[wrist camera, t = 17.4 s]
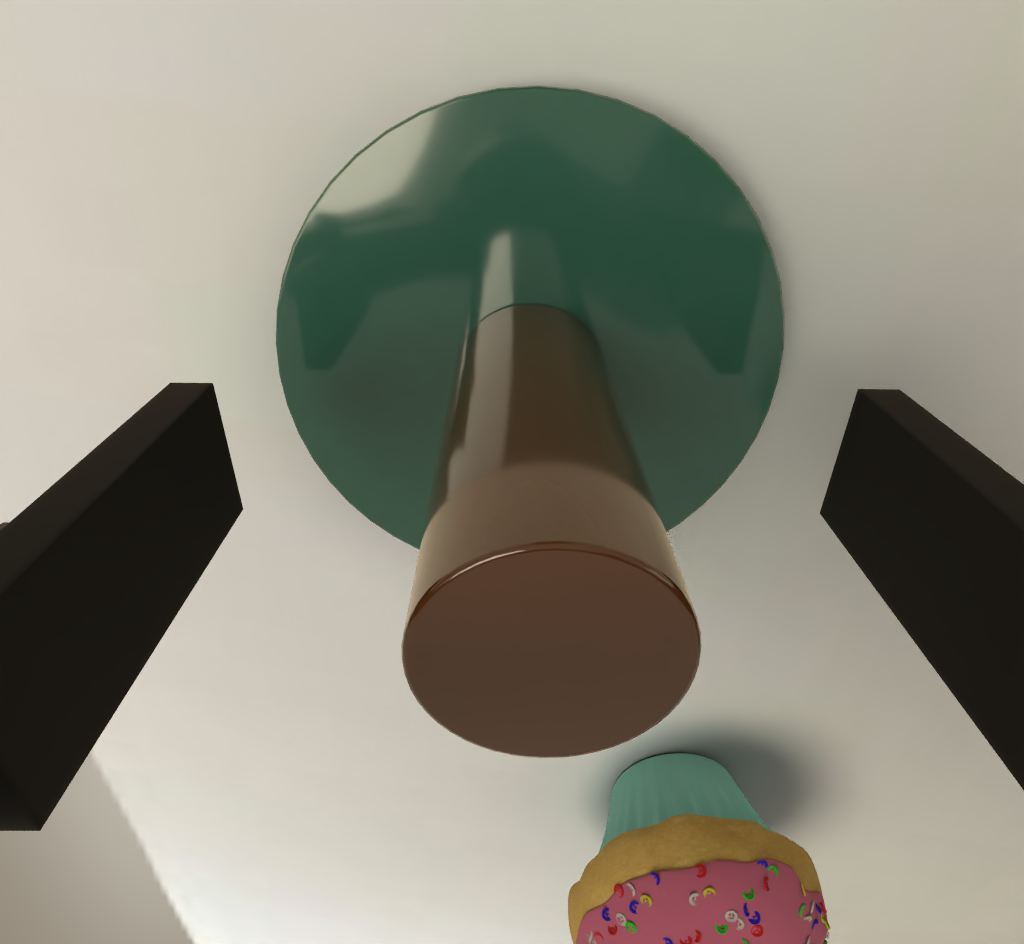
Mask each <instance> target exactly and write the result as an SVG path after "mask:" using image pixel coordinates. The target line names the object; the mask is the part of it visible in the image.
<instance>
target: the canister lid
mask: <svg viewBox="0 0 1024 944" xmlns="http://www.w3.org/2000/svg"><path fill="white" fill-rule="evenodd" d="M783 345H784V308H783V299H782V290H781V282H780V278H779V274H778V271H777V267H776V263H775V259H774V255H773V252H772V249H771V246H770V244H769V242H768V239H767V237H766V235H765V232H764V230H763V228H762V225H761V223H760V221H759V218H758V216H757V215H756V213H755V212H754V210H753V208H752V207H751V205H750V204H749V202H748V200H747V199H746V197H745V196H744V194H743V192H742V191H741V189H740V188H739V186H738V185H737V184H736V183H735V182H734V181H733V179H732V178H731V177H730V176H729V175H728V174H727V172H726V171H725V170H724V169H723V168H722V167H721V165H720V164H719V163H718V162H717V161H716V160H715V159H714V158H713V157H712V156H711V155H710V154H708V153H707V152H706V151H705V150H704V149H703V148H701V147H700V146H699V145H698V144H697V143H696V142H694V141H693V140H692V139H691V138H690V137H689V136H687V135H686V134H684V133H683V132H681V131H680V130H678V129H676V128H675V127H673V126H672V125H670V124H668V123H667V122H665V121H663V120H662V119H660V118H659V117H657V116H655V115H654V114H651V113H649V112H647V111H644V110H642V109H639V108H637V107H635V106H632V105H630V104H628V103H625V102H623V101H620V100H618V99H615V98H611V97H607V96H602V95H598V94H594V93H590V92H586V91H582V90H578V89H568V88H557V87H546V86H527V87H511V88H497V89H492V90H487V91H483V92H478V93H474V94H469V95H464V96H460V97H456V98H454V99H451V100H449V101H446V102H443V103H441V104H438V105H435V106H433V107H430V108H428V109H425V110H422V111H420V112H418V113H416V114H415V115H413V116H411V117H409V118H408V119H406V120H404V121H402V122H401V123H399V124H397V125H395V126H393V127H392V128H390V129H388V130H386V131H385V132H384V133H383V134H381V135H380V136H379V137H377V138H376V139H375V140H374V141H372V142H371V143H370V144H369V145H367V146H366V147H365V148H363V149H362V150H361V151H360V152H358V153H357V154H356V155H355V156H354V157H353V158H352V159H351V160H350V161H349V162H348V163H347V164H346V165H345V166H344V168H343V169H342V170H341V171H340V172H339V173H338V174H337V175H336V176H335V177H334V178H333V179H332V180H331V181H330V182H329V184H328V185H327V187H326V188H325V190H324V191H323V193H322V194H321V195H320V197H319V198H318V200H317V201H316V203H315V204H314V206H313V207H312V208H311V210H310V211H309V213H308V215H307V217H306V219H305V221H304V223H303V225H302V227H301V229H300V231H299V233H298V235H297V237H296V239H295V241H294V243H293V246H292V249H291V252H290V255H289V258H288V261H287V265H286V268H285V271H284V274H283V277H282V283H281V289H280V294H279V300H278V306H277V323H276V347H277V356H278V365H279V374H280V378H281V382H282V386H283V390H284V394H285V398H286V402H287V405H288V408H289V410H290V413H291V415H292V418H293V420H294V423H295V425H296V428H297V430H298V433H299V435H300V436H301V438H302V440H303V442H304V444H305V445H306V447H307V449H308V451H309V453H310V454H311V456H312V458H313V459H314V461H315V462H316V464H317V465H318V466H319V468H320V469H321V470H322V472H323V473H324V475H325V476H326V477H327V479H328V480H329V481H330V483H331V484H332V485H333V486H334V487H335V488H336V489H337V490H338V491H339V492H340V493H341V494H342V495H343V496H344V498H345V499H346V500H347V501H348V502H349V503H350V504H351V505H353V506H354V507H355V508H356V509H357V510H359V511H360V512H361V513H362V514H363V515H364V516H366V517H367V518H368V519H369V520H370V521H372V522H373V523H375V524H376V525H378V526H379V527H381V528H382V529H384V530H385V531H387V532H388V533H390V534H391V535H393V536H394V537H396V538H398V539H400V540H402V541H404V542H406V543H408V544H410V545H412V546H413V547H415V548H417V549H420V551H419V556H418V561H417V566H416V572H415V577H414V582H413V587H412V592H411V598H410V603H409V608H408V613H407V618H406V623H405V629H404V634H403V640H402V663H403V668H404V673H405V676H406V678H407V681H408V684H409V686H410V689H411V691H412V692H413V694H414V696H415V698H416V699H417V701H418V702H419V704H420V705H421V706H422V707H423V709H424V710H425V711H426V712H427V713H428V714H429V715H430V716H431V717H432V718H433V719H434V720H435V721H436V722H437V723H439V724H440V725H441V726H443V727H444V728H445V729H447V730H448V731H450V732H451V733H453V734H455V735H457V736H458V737H460V738H462V739H464V740H466V741H468V742H470V743H473V744H475V745H477V746H480V747H483V748H486V749H489V750H492V751H496V752H500V753H505V754H510V755H516V756H524V757H537V758H556V757H569V756H577V755H583V754H588V753H593V752H597V751H601V750H604V749H607V748H611V747H614V746H616V745H619V744H621V743H624V742H626V741H629V740H631V739H633V738H635V737H636V736H638V735H640V734H642V733H644V732H646V731H647V730H649V729H650V728H652V727H653V726H655V725H656V724H658V723H659V722H660V721H661V720H662V719H664V718H665V717H666V716H667V715H668V714H669V713H670V712H671V711H672V710H673V709H674V708H675V707H676V706H677V705H678V704H679V703H680V701H681V700H682V699H683V697H684V696H685V694H686V693H687V691H688V690H689V688H690V686H691V684H692V682H693V680H694V678H695V675H696V671H697V668H698V665H699V661H700V653H701V632H700V628H699V624H698V620H697V616H696V614H695V611H694V608H693V605H692V602H691V600H690V597H689V594H688V591H687V588H686V586H685V583H684V580H683V577H682V574H681V572H680V569H679V566H678V563H677V560H676V558H675V555H674V552H673V549H672V546H671V544H670V541H669V538H668V535H667V531H668V530H670V529H672V528H673V527H675V526H676V525H678V524H680V523H681V522H682V521H683V520H685V519H686V518H687V517H688V516H690V515H691V514H692V513H693V512H695V511H696V510H697V509H698V508H700V507H701V506H702V505H703V504H704V503H705V502H706V501H707V500H708V499H709V498H710V497H711V496H712V495H713V494H714V493H715V492H716V491H717V490H718V489H719V488H720V487H721V486H722V485H723V484H724V483H725V482H726V480H727V479H728V478H729V476H730V475H731V474H732V473H733V471H734V470H735V469H736V468H737V466H738V465H739V464H740V463H741V461H742V459H743V458H744V456H745V455H746V453H747V451H748V450H749V448H750V446H751V445H752V443H753V442H754V440H755V438H756V437H757V434H758V432H759V430H760V428H761V426H762V423H763V421H764V419H765V417H766V415H767V412H768V410H769V407H770V404H771V401H772V398H773V395H774V391H775V388H776V385H777V382H778V377H779V371H780V365H781V359H782V353H783Z"/></svg>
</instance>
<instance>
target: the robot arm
mask: <svg viewBox="0 0 1024 944" xmlns="http://www.w3.org/2000/svg"><path fill="white" fill-rule="evenodd" d="M242 510H243V507H242V503H241V498H240V494H239V490H238V486H237V482H236V478H235V473H234V469H233V465H232V461H231V457H230V453H229V448H228V444H227V440H226V436H225V432H224V428H223V423H222V419H221V415H220V411H219V407H218V403H217V398H216V394H215V390H214V386H213V383H170V384H169V385H167V386H166V387H165V388H164V389H163V390H162V391H161V392H159V393H158V394H157V395H156V396H155V397H154V398H152V399H151V400H150V401H149V402H148V403H147V404H146V405H144V406H143V407H142V408H141V409H140V410H139V411H138V412H136V413H135V414H134V415H133V416H132V417H131V418H129V419H128V420H127V421H126V422H125V423H124V424H123V425H121V426H120V427H119V428H118V429H117V430H116V431H115V432H113V433H112V434H111V435H110V436H109V437H108V438H106V439H105V440H104V441H103V442H102V443H101V444H100V445H98V446H97V447H96V448H95V449H94V450H93V451H92V452H90V453H89V454H88V455H87V456H86V457H85V458H83V459H82V460H81V461H80V462H79V463H78V464H77V465H75V466H74V467H73V468H72V469H71V470H70V471H69V472H67V473H66V474H65V475H64V476H63V477H62V478H60V479H59V480H58V481H57V482H56V483H55V484H54V485H52V486H51V487H50V488H49V489H48V490H47V491H46V492H44V493H43V494H42V495H41V496H40V497H39V498H37V499H36V500H35V501H34V502H33V503H32V504H31V505H29V506H28V507H27V508H26V509H25V510H24V511H23V512H21V513H20V514H19V515H18V516H17V517H16V518H14V519H13V520H12V521H11V522H10V523H2V524H0V830H1V831H4V830H6V831H9V830H12V831H15V830H16V831H18V830H19V831H21V830H22V831H26V830H27V831H30V830H31V831H34V830H35V831H36V830H37V831H40V830H41V828H42V827H43V825H44V824H45V822H46V821H47V819H48V817H49V816H50V814H51V813H52V811H53V809H54V808H55V806H56V805H57V803H58V802H59V800H60V798H61V797H62V795H63V794H64V792H65V790H66V789H67V787H68V786H69V784H70V783H71V781H72V779H73V778H74V776H75V774H76V773H77V771H78V770H79V768H80V767H81V765H82V763H83V762H84V760H85V759H86V757H87V756H88V754H89V752H90V751H91V749H92V748H93V746H94V745H95V743H96V741H97V740H98V738H99V737H100V735H101V733H102V732H103V730H104V729H105V727H106V725H107V724H108V722H109V721H110V719H111V718H112V716H113V714H114V713H115V711H116V710H117V708H118V706H119V705H120V703H121V702H122V700H123V699H124V697H125V695H126V694H127V692H128V691H129V689H130V687H131V686H132V684H133V683H134V681H135V680H136V678H137V676H138V675H139V673H140V672H141V670H142V668H143V667H144V665H145V664H146V662H147V661H148V659H149V657H150V656H151V654H152V653H153V651H154V649H155V648H156V646H157V645H158V643H159V642H160V640H161V638H162V637H163V635H164V634H165V632H166V630H167V629H168V627H169V626H170V624H171V622H172V621H173V619H174V618H175V616H176V615H177V613H178V611H179V610H180V608H181V607H182V605H183V603H184V602H185V600H186V599H187V597H188V596H189V594H190V592H191V591H192V589H193V588H194V586H195V584H196V583H197V581H198V580H199V578H200V577H201V575H202V573H203V572H204V570H205V569H206V567H207V565H208V564H209V562H210V561H211V559H212V558H213V556H214V554H215V553H216V551H217V550H218V548H219V546H220V545H221V543H222V542H223V540H224V539H225V537H226V535H227V534H228V532H229V531H230V529H231V527H232V526H233V524H234V523H235V521H236V519H237V518H238V516H239V515H240V513H241V512H242ZM820 514H821V515H822V517H823V518H824V520H825V521H826V522H827V524H828V525H829V526H830V528H831V529H832V530H833V532H834V533H835V534H836V536H837V537H838V539H839V540H840V541H841V543H842V544H843V545H844V547H845V548H846V549H847V551H848V552H849V553H850V555H851V556H852V558H853V559H854V560H855V562H856V563H857V564H858V566H859V567H860V568H861V570H862V571H863V572H864V574H865V575H866V577H867V578H868V579H869V581H870V582H871V583H872V585H873V586H874V587H875V589H876V590H877V591H878V593H879V594H880V596H881V597H882V598H883V600H884V601H885V602H886V604H887V605H888V606H889V608H890V609H891V610H892V612H893V613H894V615H895V616H896V617H897V619H898V620H899V621H900V623H901V624H902V625H903V627H904V628H905V629H906V631H907V632H908V634H909V635H910V636H911V638H912V639H913V640H914V642H915V643H916V644H917V646H918V647H919V649H920V650H921V651H922V653H923V654H924V655H925V657H926V658H927V659H928V661H929V662H930V663H931V665H932V666H933V668H934V669H935V670H936V672H937V673H938V674H939V676H940V677H941V678H942V680H943V681H944V682H945V684H946V685H947V687H948V688H949V689H950V691H951V692H952V693H953V695H954V696H955V697H956V699H957V700H958V701H959V703H960V704H961V706H962V707H963V708H964V710H965V711H966V712H967V714H968V715H969V716H970V718H971V719H972V720H973V722H974V723H975V725H976V726H977V727H978V729H979V730H980V731H981V733H982V734H983V735H984V737H985V738H986V739H987V741H988V742H989V744H990V745H991V746H992V748H993V749H994V750H995V752H996V753H997V754H998V756H999V757H1000V758H1001V760H1002V761H1003V763H1004V764H1005V765H1006V767H1007V768H1008V769H1009V771H1010V772H1011V773H1012V775H1013V776H1014V777H1015V779H1016V780H1017V782H1018V783H1019V784H1020V786H1021V787H1022V788H1023V790H1024V485H1023V484H1022V483H1021V482H1019V481H1018V480H1017V479H1015V478H1014V477H1013V476H1011V475H1010V474H1009V473H1008V472H1006V471H1005V470H1004V469H1002V468H1001V467H1000V466H998V465H997V464H996V463H995V462H993V461H992V460H991V459H989V458H988V457H987V456H985V455H984V454H983V453H981V452H980V451H979V450H978V449H976V448H975V447H974V446H972V445H971V444H970V443H968V442H967V441H966V440H964V439H963V438H962V437H961V436H959V435H958V434H957V433H955V432H954V431H953V430H951V429H950V428H949V427H948V426H946V425H945V424H944V423H942V422H941V421H940V420H938V419H937V418H936V417H934V416H933V415H932V414H931V413H929V412H928V411H927V410H925V409H924V408H923V407H921V406H920V405H919V404H918V403H916V402H915V401H914V400H912V399H911V398H910V397H908V396H907V395H906V394H904V393H903V392H902V391H901V390H886V389H858V391H857V394H856V398H855V401H854V404H853V407H852V411H851V414H850V417H849V420H848V424H847V427H846V430H845V433H844V437H843V440H842V443H841V446H840V450H839V453H838V456H837V459H836V462H835V466H834V469H833V472H832V475H831V479H830V482H829V485H828V488H827V492H826V495H825V498H824V501H823V505H822V508H821V511H820Z"/></svg>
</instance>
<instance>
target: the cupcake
mask: <svg viewBox="0 0 1024 944" xmlns="http://www.w3.org/2000/svg"><path fill="white" fill-rule="evenodd" d="M826 913H827V911H826V909H825V904H824V900H823V896H822V891H821V886H820V883H819V879H818V876H817V872H816V869H815V867H814V864H813V862H812V860H811V858H810V856H809V855H808V853H807V852H806V851H805V850H804V849H803V848H802V847H801V846H799V845H798V844H796V843H795V842H793V841H791V840H789V839H788V838H786V837H784V836H782V835H780V834H778V833H775V832H773V831H772V830H771V829H770V828H769V827H768V826H767V824H766V823H765V822H764V821H763V820H762V819H761V817H760V816H759V815H758V814H757V812H756V811H755V810H754V809H753V807H752V806H751V805H750V803H749V802H748V800H747V799H746V798H745V796H744V795H743V793H742V792H741V790H740V789H739V787H738V786H737V784H736V783H735V781H734V780H733V778H732V777H731V775H730V774H729V772H728V771H727V770H726V769H725V768H724V767H723V766H722V765H720V764H719V763H717V762H716V761H714V760H712V759H709V758H707V757H704V756H700V755H695V754H688V753H671V754H663V755H658V756H654V757H651V758H648V759H645V760H643V761H640V762H638V763H636V764H634V765H633V766H631V767H630V768H628V769H627V770H626V771H625V772H624V773H622V775H621V776H620V777H619V778H618V779H617V781H616V782H615V784H614V787H613V790H612V795H611V802H610V809H609V816H608V822H607V827H606V831H605V835H604V839H603V842H602V845H601V848H600V851H599V854H598V855H597V856H596V857H595V858H594V859H592V860H591V861H590V862H589V863H588V865H587V866H586V868H585V870H584V872H583V874H582V877H581V879H580V881H578V882H577V883H575V884H574V885H573V886H572V887H571V889H570V892H569V898H568V916H569V927H570V932H571V937H572V940H573V943H574V944H827V941H826V940H825V938H829V932H828V929H830V926H829V924H828V921H827V915H826ZM826 934H827V935H826Z"/></svg>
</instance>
